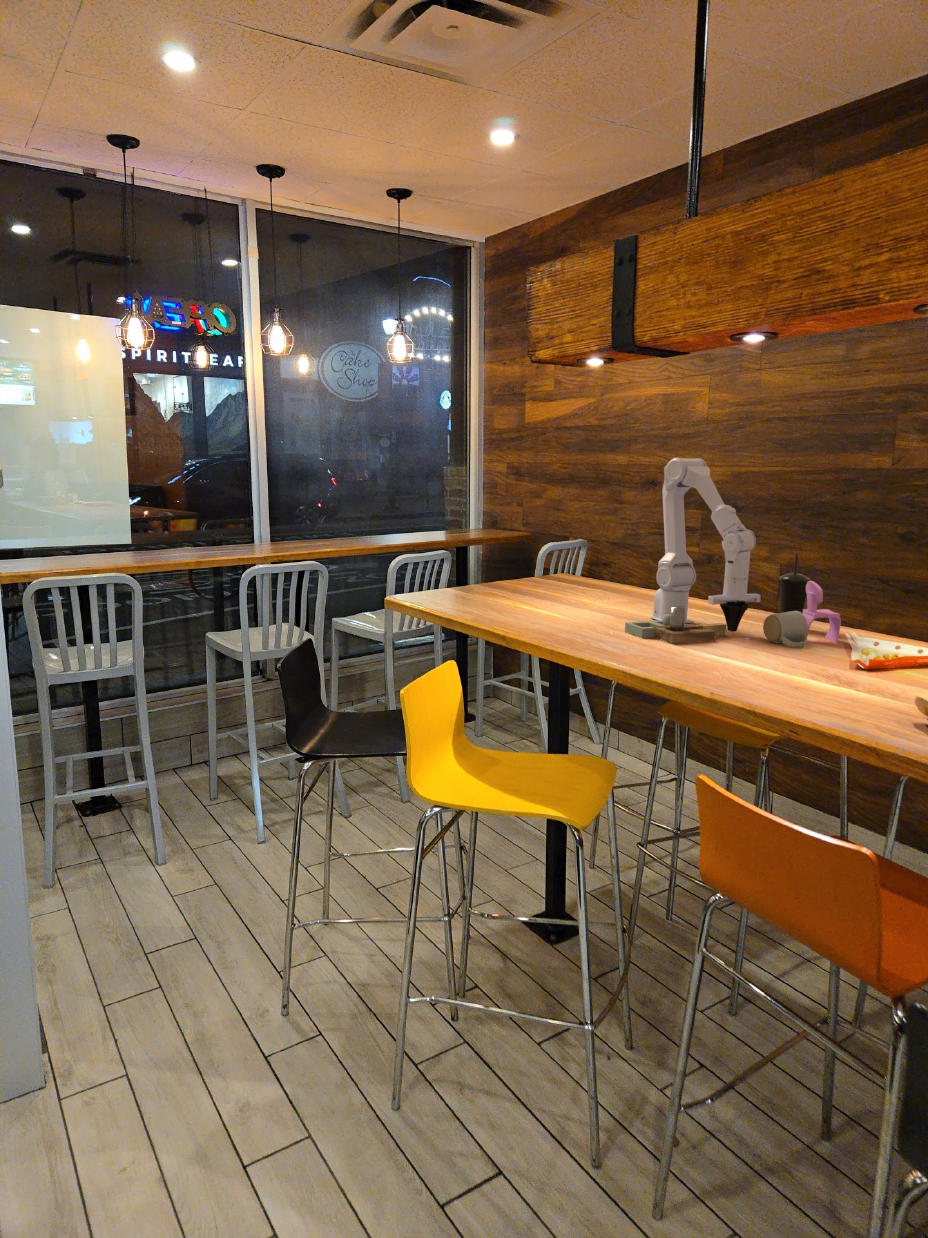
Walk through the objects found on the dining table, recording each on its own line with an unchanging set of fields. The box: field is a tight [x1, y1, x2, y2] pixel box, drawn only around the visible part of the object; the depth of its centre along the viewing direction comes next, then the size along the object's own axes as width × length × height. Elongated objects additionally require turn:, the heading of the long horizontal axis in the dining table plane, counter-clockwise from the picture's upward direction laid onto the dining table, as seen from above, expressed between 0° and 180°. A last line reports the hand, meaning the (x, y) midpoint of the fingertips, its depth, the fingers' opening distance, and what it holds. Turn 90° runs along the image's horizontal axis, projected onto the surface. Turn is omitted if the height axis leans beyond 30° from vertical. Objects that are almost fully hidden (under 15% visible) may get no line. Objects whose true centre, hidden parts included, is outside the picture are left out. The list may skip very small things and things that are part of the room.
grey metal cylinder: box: [670, 606, 685, 632], centre depth 207 cm, size 3×3×8 cm
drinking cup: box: [778, 553, 811, 613], centre depth 221 cm, size 8×8×20 cm
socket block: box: [651, 623, 716, 645], centre depth 209 cm, size 10×12×2 cm
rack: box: [624, 614, 690, 639], centre depth 214 cm, size 8×14×4 cm, turn 110°
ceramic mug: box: [762, 611, 809, 649], centre depth 204 cm, size 11×8×8 cm
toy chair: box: [800, 580, 842, 644], centre depth 207 cm, size 8×9×15 cm
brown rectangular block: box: [697, 622, 727, 638], centre depth 212 cm, size 2×7×3 cm, turn 110°
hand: (732, 630), depth 214 cm, fingers closed
